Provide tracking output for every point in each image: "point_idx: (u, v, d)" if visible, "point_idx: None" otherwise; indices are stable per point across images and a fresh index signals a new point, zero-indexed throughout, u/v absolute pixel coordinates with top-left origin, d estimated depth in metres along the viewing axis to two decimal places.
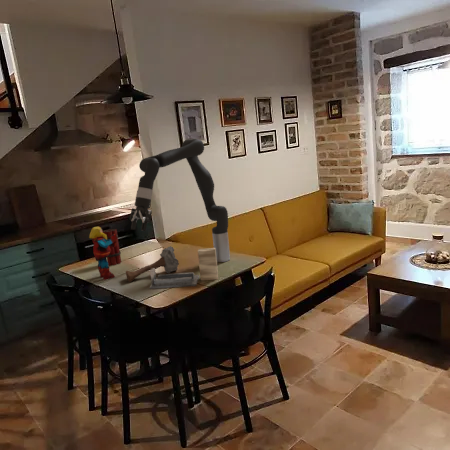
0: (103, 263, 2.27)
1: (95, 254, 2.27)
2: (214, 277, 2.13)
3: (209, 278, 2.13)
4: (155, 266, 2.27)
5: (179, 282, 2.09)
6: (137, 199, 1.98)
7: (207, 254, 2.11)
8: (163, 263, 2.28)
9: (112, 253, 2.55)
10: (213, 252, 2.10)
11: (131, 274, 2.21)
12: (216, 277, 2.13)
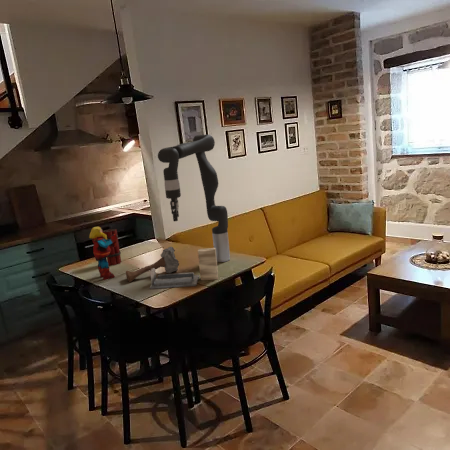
0: (103, 263, 2.27)
1: (95, 254, 2.27)
2: (214, 277, 2.13)
3: (209, 278, 2.13)
4: (155, 266, 2.26)
5: (179, 282, 2.09)
6: (165, 192, 2.06)
7: (207, 254, 2.11)
8: (163, 263, 2.27)
9: (112, 253, 2.55)
10: (213, 252, 2.10)
11: (131, 274, 2.21)
12: (216, 277, 2.13)
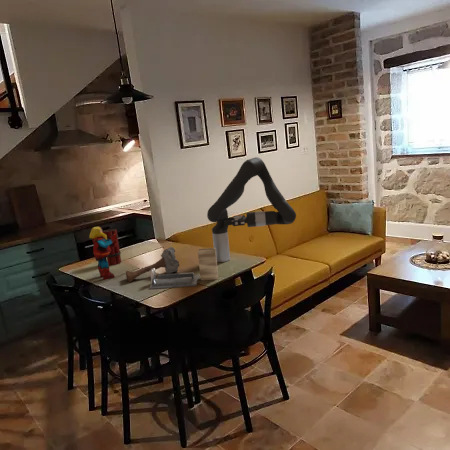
0: (103, 263, 2.27)
1: (95, 254, 2.27)
2: (214, 277, 2.13)
3: (209, 278, 2.13)
4: (155, 267, 2.26)
5: (179, 282, 2.09)
6: None
7: (207, 254, 2.11)
8: (163, 264, 2.26)
9: (112, 253, 2.55)
10: (213, 252, 2.10)
11: (131, 274, 2.21)
12: (216, 277, 2.13)
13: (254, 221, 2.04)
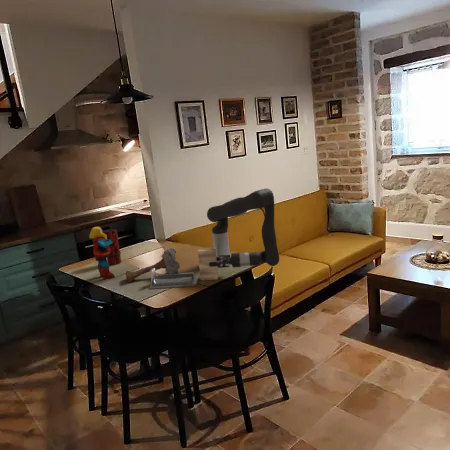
0: (103, 263, 2.27)
1: (95, 254, 2.27)
2: (214, 277, 2.13)
3: (209, 278, 2.13)
4: (155, 267, 2.24)
5: (179, 282, 2.09)
6: None
7: (207, 254, 2.11)
8: (163, 265, 2.24)
9: (112, 253, 2.55)
10: (213, 252, 2.10)
11: (130, 275, 2.20)
12: (216, 277, 2.13)
13: (238, 262, 2.09)
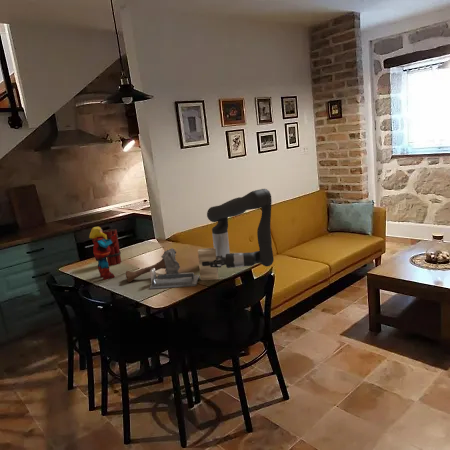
0: (103, 263, 2.27)
1: (95, 254, 2.27)
2: (214, 277, 2.13)
3: (209, 278, 2.13)
4: (155, 268, 2.24)
5: (179, 282, 2.09)
6: None
7: (207, 254, 2.11)
8: (163, 265, 2.24)
9: (112, 253, 2.55)
10: (213, 252, 2.10)
11: (130, 275, 2.20)
12: (216, 277, 2.13)
13: (233, 263, 2.09)
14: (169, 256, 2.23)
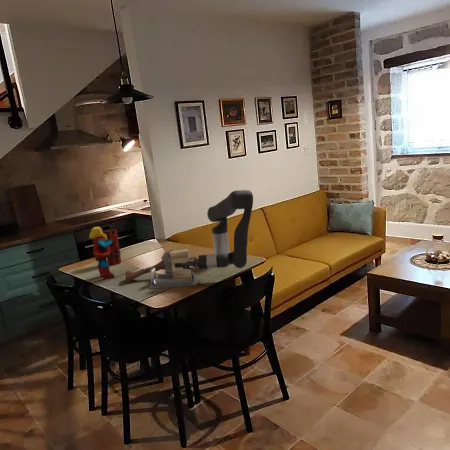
0: (103, 263, 2.27)
1: (95, 254, 2.27)
2: None
3: None
4: None
5: (179, 282, 2.09)
6: None
7: (180, 255, 2.08)
8: (163, 266, 2.22)
9: (112, 253, 2.55)
10: (186, 253, 2.08)
11: (129, 275, 2.20)
12: None
13: (205, 264, 2.07)
14: (169, 257, 2.21)
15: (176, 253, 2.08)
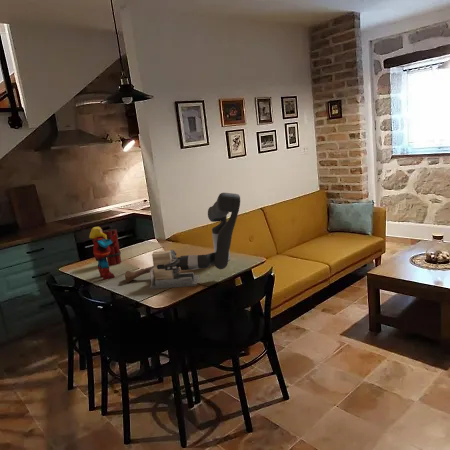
0: (103, 263, 2.27)
1: (95, 254, 2.27)
2: None
3: None
4: None
5: (179, 282, 2.09)
6: None
7: (162, 257, 2.09)
8: None
9: (112, 253, 2.55)
10: (167, 255, 2.09)
11: (128, 275, 2.20)
12: None
13: (187, 265, 2.08)
14: None
15: (158, 254, 2.09)
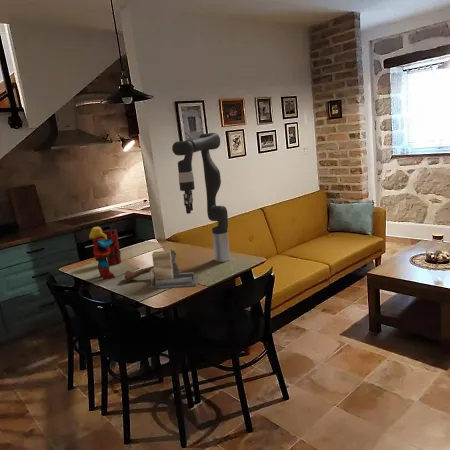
0: (103, 263, 2.27)
1: (95, 254, 2.27)
2: None
3: None
4: None
5: (179, 282, 2.09)
6: (179, 184, 2.07)
7: (162, 257, 2.09)
8: None
9: (112, 253, 2.55)
10: (167, 255, 2.09)
11: (128, 275, 2.20)
12: None
13: None
14: None
15: (158, 254, 2.09)
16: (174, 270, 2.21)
